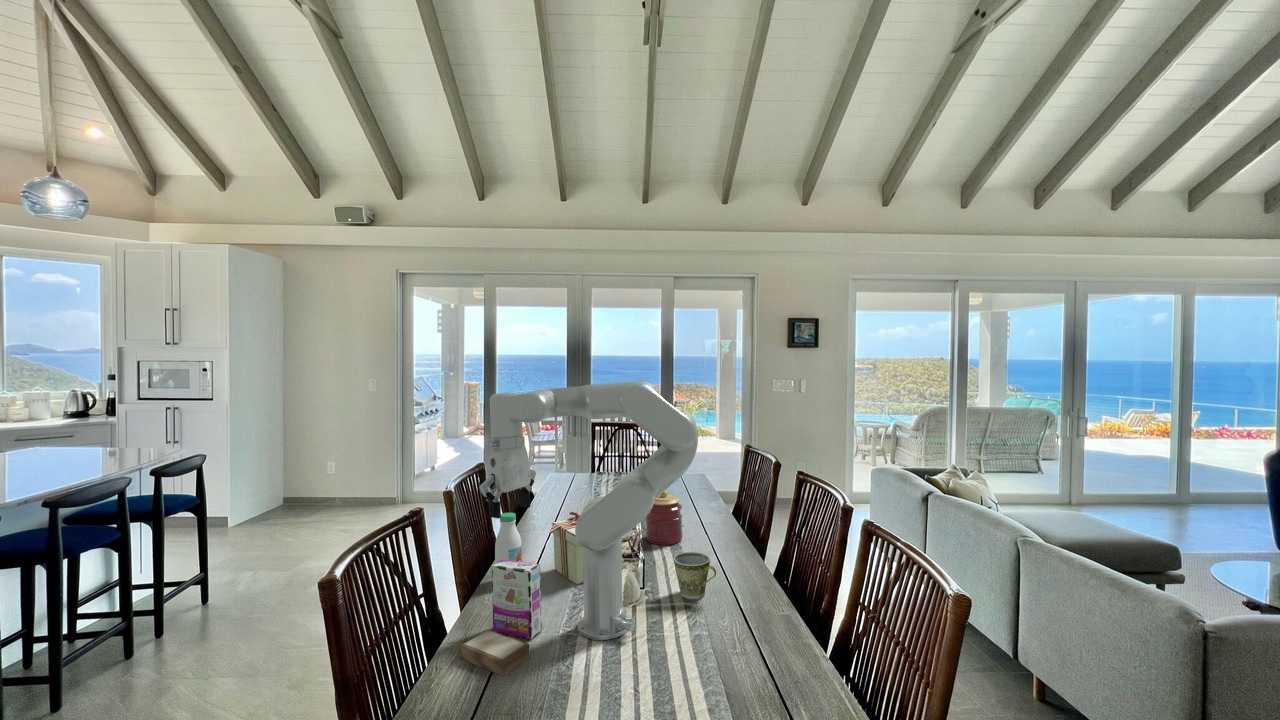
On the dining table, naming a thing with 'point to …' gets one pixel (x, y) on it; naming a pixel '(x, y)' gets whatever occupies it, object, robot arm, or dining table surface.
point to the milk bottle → (508, 540)
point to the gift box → (568, 549)
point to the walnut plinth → (494, 652)
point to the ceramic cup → (692, 573)
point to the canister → (664, 520)
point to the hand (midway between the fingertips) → (510, 512)
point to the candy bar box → (516, 598)
